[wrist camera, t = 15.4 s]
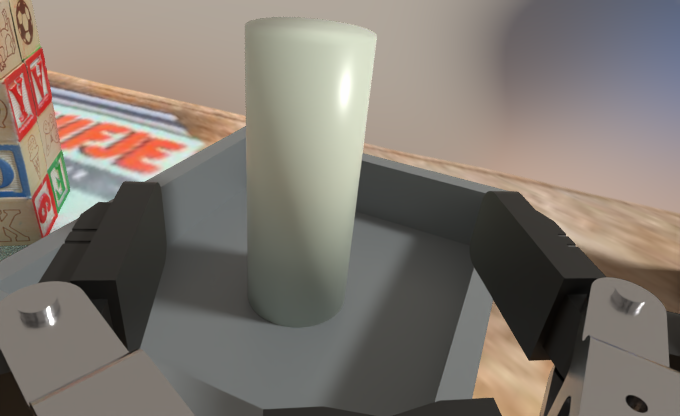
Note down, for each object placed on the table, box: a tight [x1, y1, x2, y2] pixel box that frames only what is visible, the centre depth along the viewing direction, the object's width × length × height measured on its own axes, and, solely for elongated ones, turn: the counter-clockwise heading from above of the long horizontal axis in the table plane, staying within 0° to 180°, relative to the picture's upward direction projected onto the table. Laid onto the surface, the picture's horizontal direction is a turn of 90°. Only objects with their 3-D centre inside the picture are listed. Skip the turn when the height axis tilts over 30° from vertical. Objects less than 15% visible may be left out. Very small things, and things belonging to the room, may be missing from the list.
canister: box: [245, 17, 377, 328], centre depth 20 cm, size 5×5×12 cm
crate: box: [0, 126, 506, 416], centre depth 22 cm, size 17×19×4 cm
